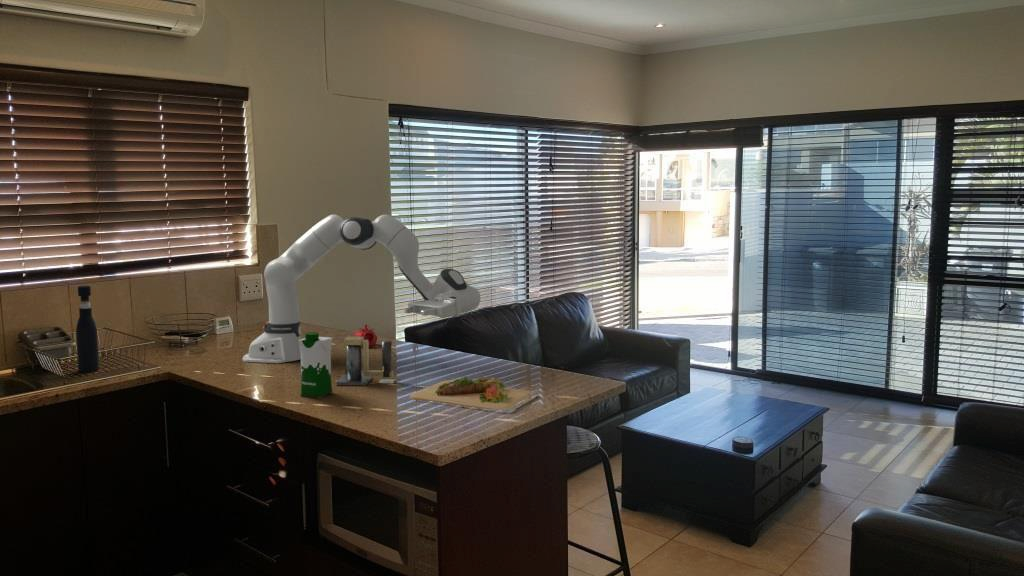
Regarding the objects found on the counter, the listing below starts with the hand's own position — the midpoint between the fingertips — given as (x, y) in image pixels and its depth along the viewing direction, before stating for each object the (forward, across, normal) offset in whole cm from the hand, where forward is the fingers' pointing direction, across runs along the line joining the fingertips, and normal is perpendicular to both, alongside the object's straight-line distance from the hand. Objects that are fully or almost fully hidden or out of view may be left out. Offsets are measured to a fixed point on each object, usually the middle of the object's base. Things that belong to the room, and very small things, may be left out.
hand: (414, 312), depth 261 cm
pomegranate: (-16, -55, +22) cm, 61 cm away
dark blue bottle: (+81, -85, +14) cm, 118 cm away
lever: (+18, -4, +19) cm, 27 cm away
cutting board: (+6, +34, +24) cm, 43 cm away
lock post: (+16, -8, +21) cm, 28 cm away
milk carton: (+40, -3, +20) cm, 44 cm away
